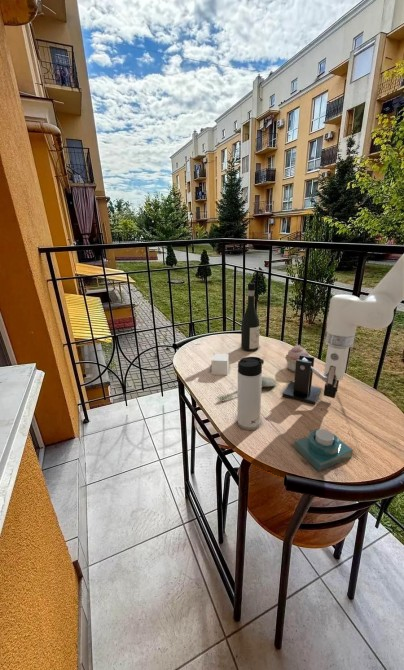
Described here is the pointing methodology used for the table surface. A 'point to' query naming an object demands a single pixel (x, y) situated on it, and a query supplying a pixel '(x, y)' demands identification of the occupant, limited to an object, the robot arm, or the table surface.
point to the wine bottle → (250, 324)
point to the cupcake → (294, 356)
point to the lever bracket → (303, 382)
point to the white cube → (220, 364)
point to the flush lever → (318, 373)
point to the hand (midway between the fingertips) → (330, 392)
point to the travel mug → (249, 392)
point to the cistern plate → (322, 451)
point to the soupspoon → (265, 382)
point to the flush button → (324, 437)
